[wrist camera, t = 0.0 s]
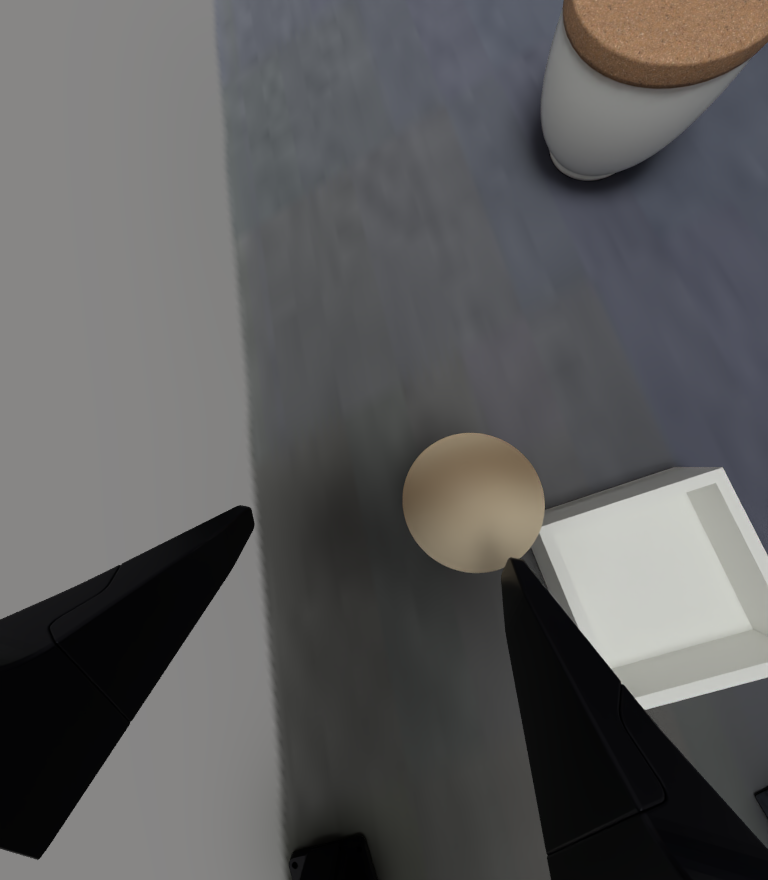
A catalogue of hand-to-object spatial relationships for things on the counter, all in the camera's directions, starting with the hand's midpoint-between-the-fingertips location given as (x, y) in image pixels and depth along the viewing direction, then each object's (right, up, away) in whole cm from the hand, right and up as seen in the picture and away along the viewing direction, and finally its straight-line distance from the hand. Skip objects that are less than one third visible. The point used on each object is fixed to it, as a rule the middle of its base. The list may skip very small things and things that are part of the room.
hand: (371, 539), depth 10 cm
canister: (+6, 0, +14) cm, 15 cm away
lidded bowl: (+19, +30, +16) cm, 39 cm away
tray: (+20, -7, +12) cm, 24 cm away
